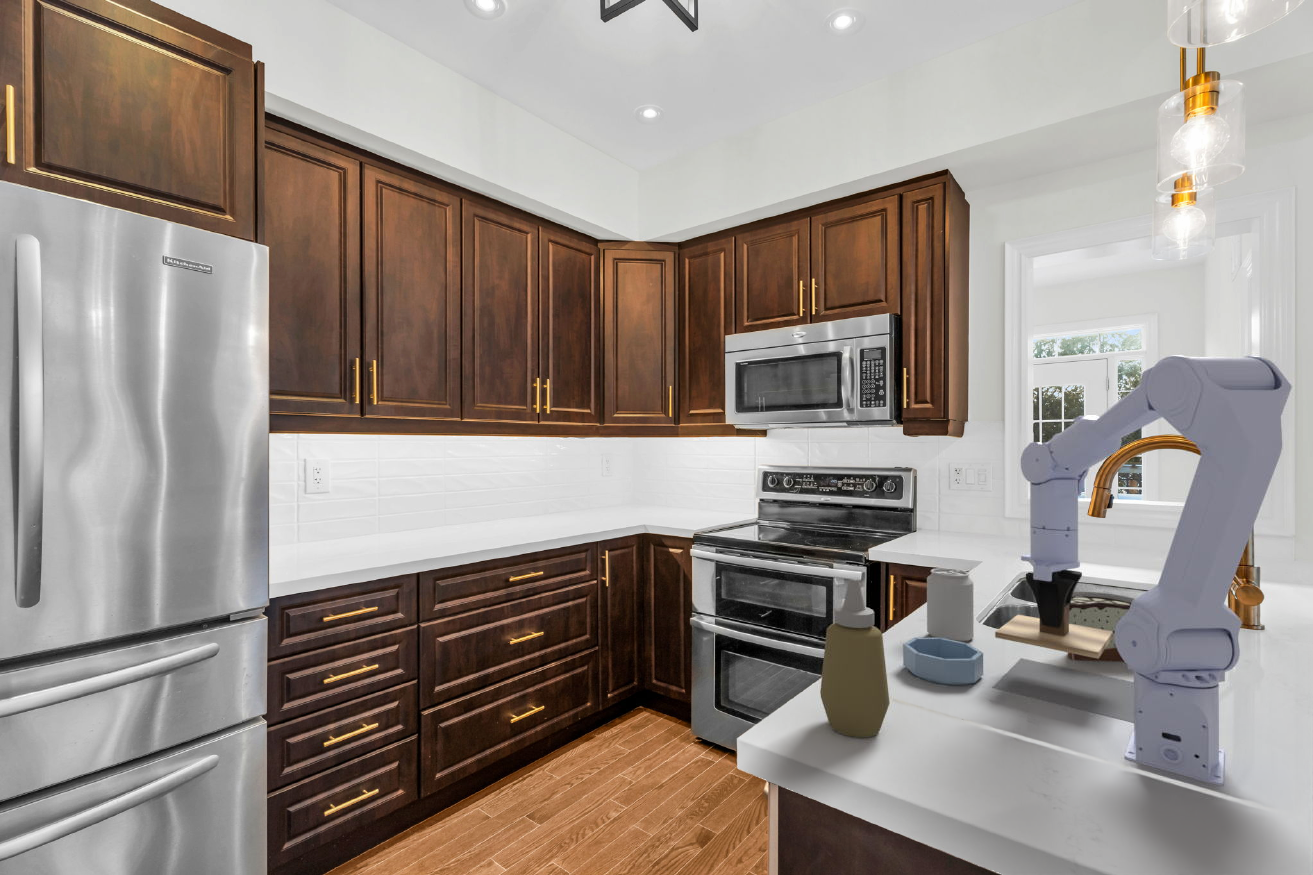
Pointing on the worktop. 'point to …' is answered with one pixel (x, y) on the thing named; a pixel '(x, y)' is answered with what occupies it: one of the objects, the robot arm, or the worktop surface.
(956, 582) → the can
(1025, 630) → the lid
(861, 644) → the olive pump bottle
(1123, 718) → the mat
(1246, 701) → the worktop surface
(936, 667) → the bowl
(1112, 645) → the food container
